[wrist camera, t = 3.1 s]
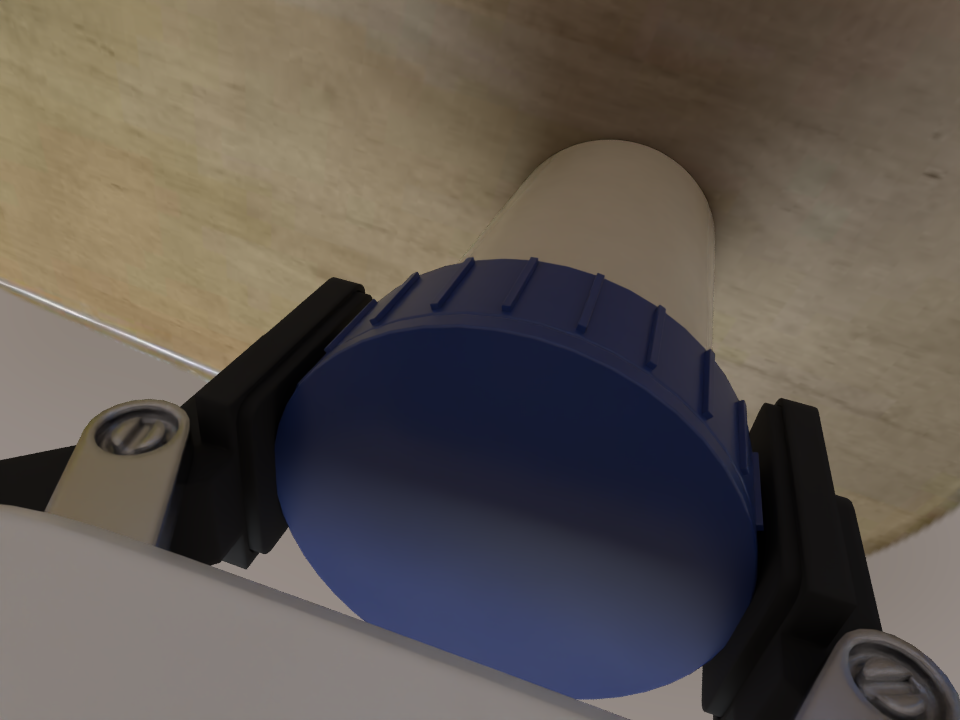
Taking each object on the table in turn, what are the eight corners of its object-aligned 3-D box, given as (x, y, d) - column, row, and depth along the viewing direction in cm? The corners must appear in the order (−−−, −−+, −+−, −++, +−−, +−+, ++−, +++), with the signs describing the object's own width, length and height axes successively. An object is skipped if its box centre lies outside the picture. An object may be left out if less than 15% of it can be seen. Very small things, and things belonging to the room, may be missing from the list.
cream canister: (747, 165, 16) (775, 429, 7) (679, 355, 19) (642, 698, 11) (525, 118, 17) (320, 303, 8) (495, 306, 20) (322, 582, 12)
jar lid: (838, 328, 8) (867, 423, 7) (676, 648, 12) (669, 757, 11) (334, 203, 10) (254, 256, 8) (332, 530, 13) (278, 611, 12)
